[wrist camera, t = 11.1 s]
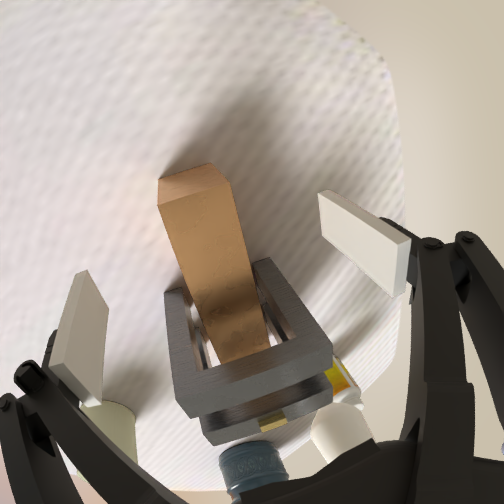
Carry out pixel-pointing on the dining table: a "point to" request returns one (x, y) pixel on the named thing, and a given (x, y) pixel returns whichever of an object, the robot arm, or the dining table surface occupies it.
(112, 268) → the dining table surface
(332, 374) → the supplement bottle
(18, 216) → the dining table surface
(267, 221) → the dining table surface
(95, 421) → the can
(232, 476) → the canister
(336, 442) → the champagne flute
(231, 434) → the collar
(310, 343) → the collar
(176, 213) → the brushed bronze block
